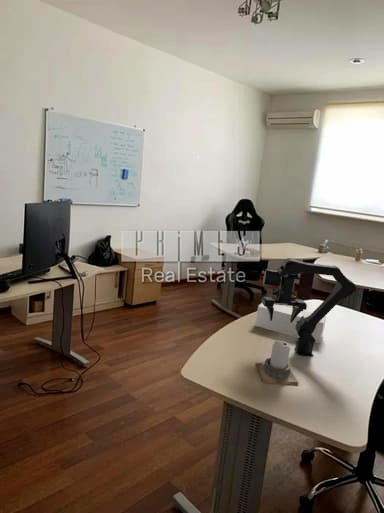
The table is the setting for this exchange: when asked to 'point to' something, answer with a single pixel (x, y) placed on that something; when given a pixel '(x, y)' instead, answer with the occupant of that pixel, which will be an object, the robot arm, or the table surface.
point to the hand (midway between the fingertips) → (280, 321)
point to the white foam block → (285, 321)
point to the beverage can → (280, 355)
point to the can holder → (276, 373)
